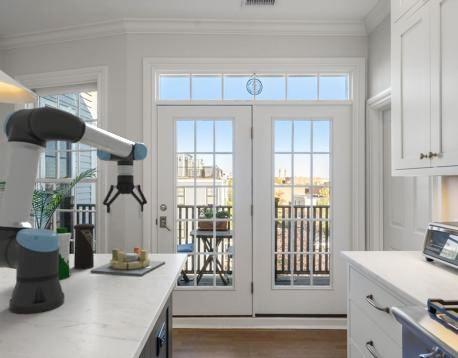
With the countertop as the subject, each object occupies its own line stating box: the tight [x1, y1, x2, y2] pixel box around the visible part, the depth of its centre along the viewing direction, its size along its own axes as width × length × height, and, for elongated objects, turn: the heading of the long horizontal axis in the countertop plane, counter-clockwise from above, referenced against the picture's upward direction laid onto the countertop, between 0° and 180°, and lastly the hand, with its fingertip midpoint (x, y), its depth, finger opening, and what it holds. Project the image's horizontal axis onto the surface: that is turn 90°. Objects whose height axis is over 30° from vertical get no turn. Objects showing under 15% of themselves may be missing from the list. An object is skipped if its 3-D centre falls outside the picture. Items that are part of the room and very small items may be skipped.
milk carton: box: [55, 226, 73, 281], centre depth 142 cm, size 9×9×20 cm
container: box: [73, 223, 96, 270], centre depth 161 cm, size 9×9×20 cm
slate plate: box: [90, 252, 166, 277], centre depth 159 cm, size 24×24×6 cm
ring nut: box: [109, 246, 150, 270], centre depth 160 cm, size 17×17×7 cm
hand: (125, 219), depth 166 cm, fingers open, 13 cm apart
